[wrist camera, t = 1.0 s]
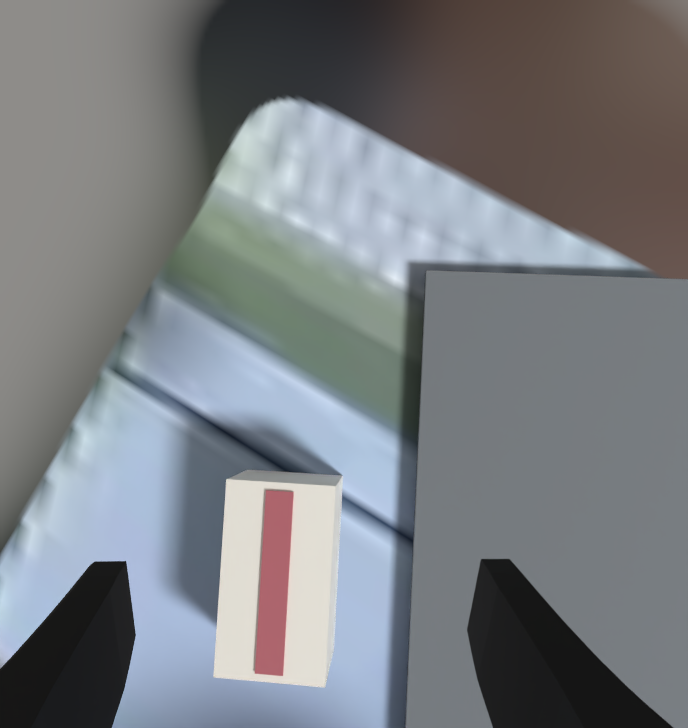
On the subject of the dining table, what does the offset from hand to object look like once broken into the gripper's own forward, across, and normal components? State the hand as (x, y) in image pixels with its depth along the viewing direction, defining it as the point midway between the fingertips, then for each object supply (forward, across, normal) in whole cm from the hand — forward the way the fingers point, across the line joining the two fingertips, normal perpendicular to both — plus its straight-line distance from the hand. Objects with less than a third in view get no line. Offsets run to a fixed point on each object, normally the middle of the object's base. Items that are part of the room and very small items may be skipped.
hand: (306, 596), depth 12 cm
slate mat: (+9, -13, +6) cm, 16 cm away
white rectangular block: (+10, 0, +8) cm, 13 cm away
